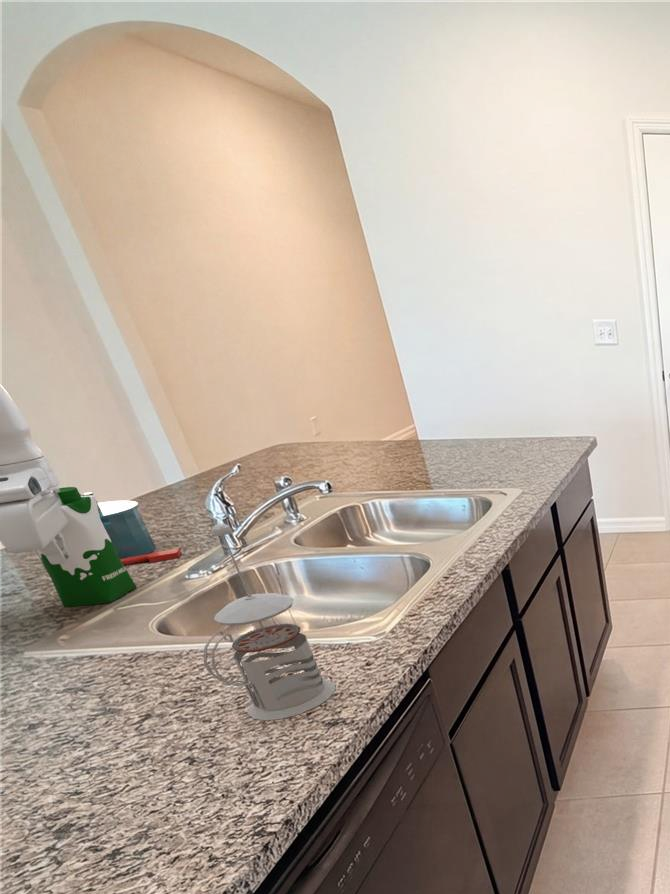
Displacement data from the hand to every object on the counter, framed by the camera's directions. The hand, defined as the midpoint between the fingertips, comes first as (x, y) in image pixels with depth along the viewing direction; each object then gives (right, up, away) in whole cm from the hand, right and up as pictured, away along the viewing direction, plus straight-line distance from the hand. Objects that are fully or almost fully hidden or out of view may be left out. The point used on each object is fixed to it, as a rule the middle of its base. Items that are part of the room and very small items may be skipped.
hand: (61, 561), depth 107 cm
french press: (+53, -20, -20) cm, 60 cm away
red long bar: (-15, +1, +26) cm, 30 cm away
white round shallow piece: (-23, +11, +27) cm, 37 cm away
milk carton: (-6, -6, +12) cm, 15 cm away
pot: (-23, +3, +31) cm, 38 cm away
